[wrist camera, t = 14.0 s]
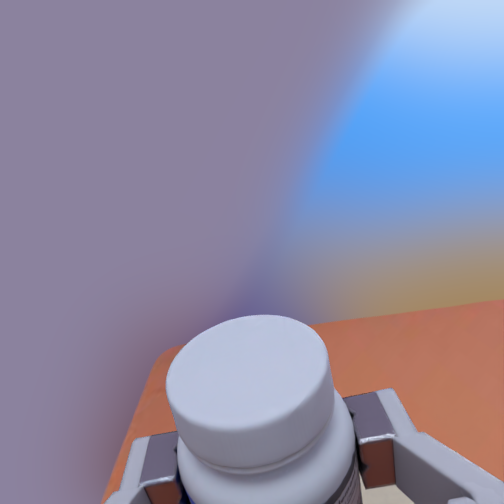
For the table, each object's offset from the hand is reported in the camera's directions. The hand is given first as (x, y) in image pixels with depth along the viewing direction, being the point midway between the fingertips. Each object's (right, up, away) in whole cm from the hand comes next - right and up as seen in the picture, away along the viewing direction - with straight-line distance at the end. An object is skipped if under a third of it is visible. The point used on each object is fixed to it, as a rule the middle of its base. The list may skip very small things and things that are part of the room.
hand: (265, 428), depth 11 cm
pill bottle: (+1, -5, +1) cm, 5 cm away
